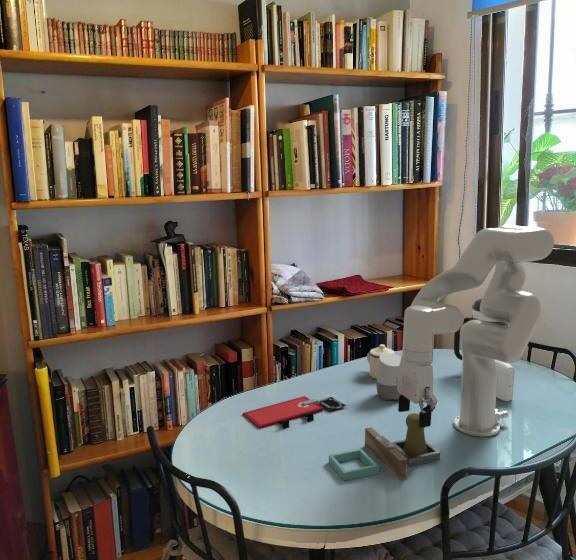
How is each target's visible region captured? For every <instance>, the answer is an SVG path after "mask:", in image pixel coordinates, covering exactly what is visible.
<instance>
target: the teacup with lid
mask: <svg viewBox="0 0 576 560" xmlns="http://www.w3.org/2000/svg"><path fill="white" fill-rule="evenodd" d="M383 353H393V354H396V353H395V351H394V350H393V349H391V348H388V347H386V345H385V344H384V343H383V344H379V346H378V347H375V348H371V349H370V351H369V352H368V353H367V355H366V360H367V362H368V365H369V376H370V377H371V378H372V379H373V380H374V379H375V380H377V374H378V365H379V357H380V355H381V354H383Z"/></svg>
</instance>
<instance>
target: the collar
mask: <svg viewBox="0 0 576 560" xmlns="http://www.w3.org/2000/svg"><path fill="white" fill-rule="evenodd" d="M358 458H359V459H360V460H361V461H362V462H363V463H364V464H365V465H366V466H362V467H357V468H353V469H349V470H346V469H345V468H344V467H343V466H342V465H341V463H340V462H344V461H349V460H354V459H358ZM328 463H329V464H330V465H331V466H332V468H333V469H334V470H335V471H336V473H337V474H338V475H339V477H340V478H341V479H342V480H343V481H348V480H355V479H359V478H362V477H366V476H371V475H377V474H379V465H378V464H377V463H376V462H375V461H374V460H373V459H372V458H371V457H370V455H368V454H367V453H366V452H365V451H364V449H362V448H357V449H352V450H347V451H346V450H345V451H341V452H337V453H333V454H332V453H331V454H329V455H328Z"/></svg>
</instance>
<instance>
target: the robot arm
mask: <svg viewBox="0 0 576 560" xmlns="http://www.w3.org/2000/svg"><path fill="white" fill-rule="evenodd" d="M554 246H555V240H554V236H553V234H552V233H551V231H550V230H548V229H546V228H543V227H531V226H521V225H501V226H498V227H495V228H492V227H489V228H488V227H487V228H483V229H480V230H479V231H477V232H476V234H475V236H474V237H473V238H472V240H471V241H470V242H469V244H468V245H467V247H466V248H465V250H464V252H463V253H462V254H461V256H460V257H459V259H458V260H457V262H456V263H455V264H454V266H452V267H451V268H449V269H447V270H445V271H443V272H441V273H440V274H438V275H436V276H435V277H433V278H431V279H429V280H428V281H427V282H426V283H425V284H424V285H423V286H422V287H421V288H420V290H419V292H418V293H417V294H416V296H415V297H414V298H413V300H412V302H411V305H410V306H408V307H407V308H406V309H404V317H403V336H402V355H401V356H400V357H401V360H400V365H399V371H398V377H396V381H397V390H398V396H399V399H398V404H397V405H398V406H397V408H398V409H397V412H399V413H405V412H409V411H410V409H411V402H412V403H413V404H418V406H419V409H420V411H419V413H418V414H419V427H420V428H422V427H425V428H429V427H431V425H432V413H433V412H434V410H435V409H436V406H437V403H438V399H437V398H436V396H435V394H434V368H433V359H434V342H435V335H451V334H454V333H455V332H457V331H458V330H459V329H460V328H461V329H460V348H461V355H462V360H461V362H462V363H461V365H462V366H461V369H462V370H461V385H460V386H461V387H460V402H459V403H460V404H459V405H460V406H459V415H458V416H456V417H455V418H454V420H453V425H454V427H455V428H456V430H458V431H459V432H461V433H463V434H465V435H466V434H467V435H469V436H473V437H482V438H483V437H491V436H492V437H493V436H495V435H497V434H498V433H500V432H501V424H500V423H499V422H498V421H500V419H507V418H509V412H508V411H506V410H502V411H499V410H498V409H497V408H496V405H497V403H496V402H497V397H496V390H497V376H498V371H497V365H496V362H495V360H498V361H501V362H505V363H509V364H515V363H517V362H518V361H519V360H521V358H522V357H523V355H524V353H525V352H526V348H527V346H528V345H529V343H530V340H531V338H532V335H533V333H534V331H535V329H536V326H537V324H538V323H539V322H538V321H539V319H540V316H541V302H540V300H539V298H538V297H537V296H536V295H535V294H533V293H530V292H528V291H522V290H523V289H522V288H523V287H524V284H525V281H526V271H525V268H524V266H523V264H524V263H529V262H535V261H541V260H544V259H545V258H547V257H548V256H549V255H550V254H551V253H552V251H553V250H554ZM494 266H495V268H494ZM493 268H494V272H493V274H492V277H491V279H490V281H489V283H488V286H487V287H486V290H485V292H484V293H483V295H482V301H481V304H480V311H481V313H482V314H483V315H484V316H485V317H487V318H489V319H492V320H496V321H500V322H504V323H508V327H507V326H502V325H498V324H495V323H491V322H487V321H483V320H471V321H468V322H467V323H465V324H463V322H464V318H465V316H464V314H463V312H462V310H461V309H460V308H459V307H457V306H455V305H452V304H448V303H444V302H442V301H441V300H442V299H443V298H445V297H447V296H448V295H451V294H454V293H458V292H463V291H467V290H472V289H476V288H478V287H480V286H481V285H482V284H484V281H485V280H486V278H487V277H488V276H489V274H490V272H492V270H493ZM494 359H495V360H494ZM424 404H426V406H424Z"/></svg>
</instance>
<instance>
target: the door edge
mask: <svg viewBox="0 0 576 560" xmlns="http://www.w3.org/2000/svg"><path fill="white" fill-rule="evenodd" d="M391 442H392V441H390V440H388V439H387V438H386V437H385V436H384V435H381V434H380V433H379V432H378V431H377V430H375V428H374V427H366V428H364V446H365V448H367V449H368V450H369V451H370V452H371V453H372V454H373V456H375V457H376V458H377V459H378V460H379V461H380V462H381V463H382V464H383V465H384V466H385V468H387V469H388V470H389V471H390V472H391V473H392V474H393V475H394V476H395V477H396V478H397V479H398V481H399V480H400V481H401V480H405V479H407V478H408V477H407V476H408V475H407V472H408V468H407V467H408V465H407V459H406V458H405V457H404V456H403V455H402V454H401V453H400V452H399V451H397V450H396V449H395V446H394V445H393V444H392V443H391Z"/></svg>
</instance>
